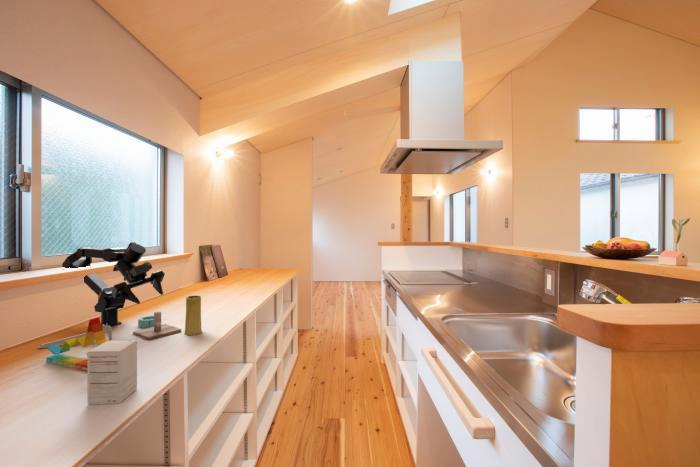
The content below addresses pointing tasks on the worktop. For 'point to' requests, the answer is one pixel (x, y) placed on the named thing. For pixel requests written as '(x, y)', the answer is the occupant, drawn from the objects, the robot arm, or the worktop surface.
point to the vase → (193, 315)
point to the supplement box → (111, 372)
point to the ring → (146, 322)
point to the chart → (75, 362)
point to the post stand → (156, 329)
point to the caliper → (61, 341)
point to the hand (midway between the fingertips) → (151, 298)
